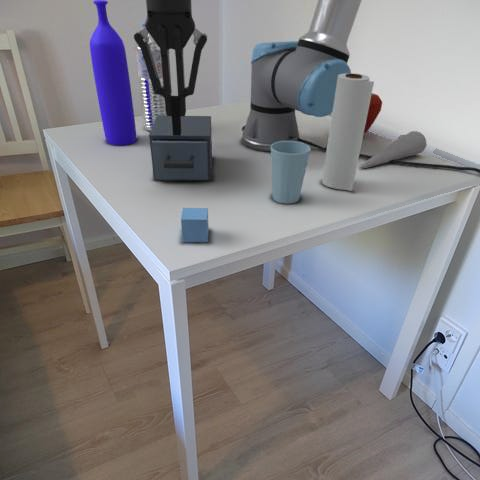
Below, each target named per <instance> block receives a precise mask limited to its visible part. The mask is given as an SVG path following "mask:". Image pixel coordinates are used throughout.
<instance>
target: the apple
mask: <svg viewBox="0 0 480 480" xmlns="http://www.w3.org/2000/svg"><path fill="white" fill-rule="evenodd" d="M382 106H383V101H382V99H381V98H380V96H379V95H378V94H377V93H373V92H372V95H371V100H370V105H369V109H368V114H367V119H366V124H365V129H364V134H363V135H365V134H366V133H367V132H369V130H370V128H371V127H372V125H373V124H374V123H375V122H376V120H377V118H378V116H379V114H380V113H381V111H382Z"/></svg>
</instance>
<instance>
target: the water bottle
mask: <svg viewBox="0 0 480 480" xmlns="http://www.w3.org/2000/svg"><path fill="white" fill-rule="evenodd" d="M141 25H142V29H143V28H144V27H145V22H141ZM148 36H149V42H148V44H149V47H150V50H151V53H152V56H153V60H154V63H155V66H156V70H157V73H158V76H159V80H160V83H161V86H162V87H163V75H162V62H161V53H160V47H159V46H158V45H157V44H156V42H155V41H154V39H153V38H152V37H151V35H150V34H148ZM134 50H135V56H136V64H137V73H138V86H139V94H140V103H141V110H142V111H141V112H142V120H143V127H144V129H145V130H146V131H149V132H151V129H152V127H153V124H154V122H155V119H156V117H157V115H166V110H165V99H164V97H163V96H161V95H159V94H155V92H154V90H153V86H152V83H151V80H150V77H149V73H148V70H147V67H146V64H145V61H144V57H143V54H142V51H141V49H140V47H139V46H138V44H137V43H136V41H135V40H134Z"/></svg>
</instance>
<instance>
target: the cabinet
mask: <svg viewBox="0 0 480 480" xmlns="http://www.w3.org/2000/svg"><path fill="white" fill-rule="evenodd" d="M181 131H182V132H181V136H178V135H173V128H172V116H167V115H157V117H156V119H155V122H154V124H153V127H152V129H151V131H149V134H148V138H149V146H150V147H149V148H150V156H151V165H152V176H153V180H154V181H173V180H172V179H155V170H154V161H153V152H152V141H157V139H183V140H206V141H207V153H208V180H189V181H195V182H196V181H203V182H207V181H208V182H209V181H210V182H211V181H212V166H213V165H212V164H213V143H212V140H213V139H212V138H213V137H212V116H211V115H185V116H181Z"/></svg>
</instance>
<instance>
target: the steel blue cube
mask: <svg viewBox="0 0 480 480" xmlns="http://www.w3.org/2000/svg"><path fill="white" fill-rule="evenodd" d="M180 225H181V237H182V243H209V207H182V209H181V217H180Z"/></svg>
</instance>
